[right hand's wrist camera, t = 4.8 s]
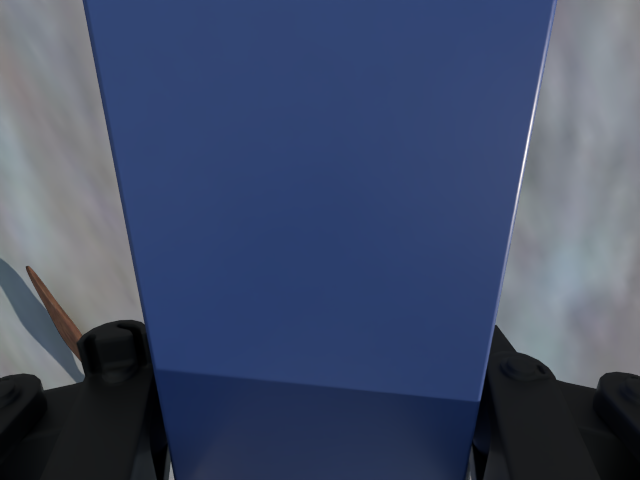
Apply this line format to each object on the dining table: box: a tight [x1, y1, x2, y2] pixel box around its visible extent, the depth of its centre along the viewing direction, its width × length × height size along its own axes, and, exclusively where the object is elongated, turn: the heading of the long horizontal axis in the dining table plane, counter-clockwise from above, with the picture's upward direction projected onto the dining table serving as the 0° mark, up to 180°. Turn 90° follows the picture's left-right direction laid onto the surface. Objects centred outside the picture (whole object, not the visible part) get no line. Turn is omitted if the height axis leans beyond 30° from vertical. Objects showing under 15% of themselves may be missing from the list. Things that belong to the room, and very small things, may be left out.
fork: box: [26, 266, 82, 361], centre depth 27 cm, size 3×16×2 cm, turn 17°
